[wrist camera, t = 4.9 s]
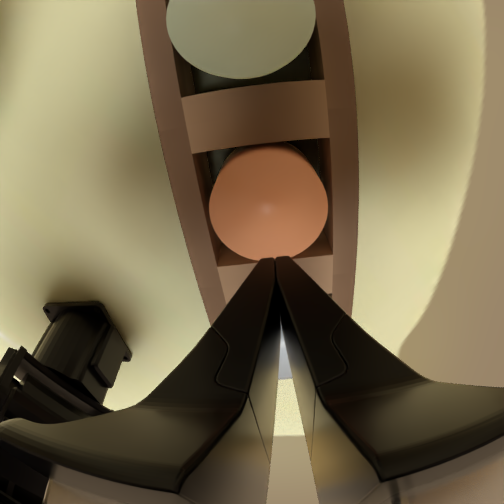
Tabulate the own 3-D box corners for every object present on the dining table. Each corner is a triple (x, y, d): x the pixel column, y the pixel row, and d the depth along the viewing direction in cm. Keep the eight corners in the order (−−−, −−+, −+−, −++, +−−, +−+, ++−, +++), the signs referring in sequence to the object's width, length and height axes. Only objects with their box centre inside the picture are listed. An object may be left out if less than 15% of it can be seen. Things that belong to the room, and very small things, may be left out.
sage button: (194, 88, 12) (177, 90, 9) (178, -10, 9) (158, -30, 6) (310, 73, 11) (324, 71, 9) (293, -26, 9) (303, -50, 6)
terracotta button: (226, 235, 17) (221, 266, 14) (209, 146, 14) (198, 162, 12) (317, 225, 16) (328, 255, 14) (312, 134, 14) (325, 147, 11)
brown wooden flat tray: (230, 345, 22) (228, 377, 20) (153, -17, 10) (131, -34, 7) (337, 334, 22) (344, 366, 19) (316, -40, 9) (328, -62, 6)
